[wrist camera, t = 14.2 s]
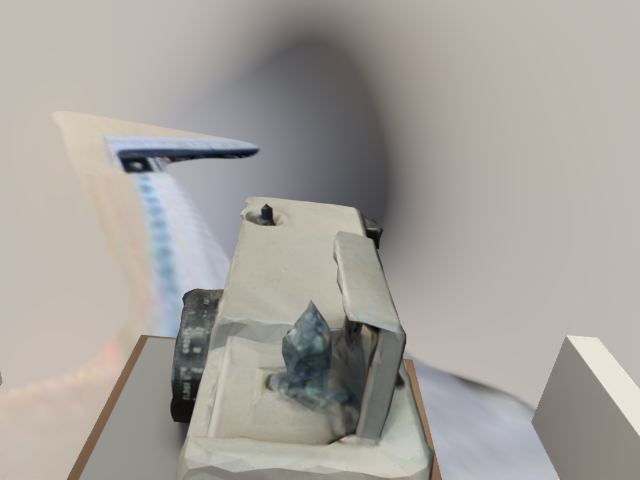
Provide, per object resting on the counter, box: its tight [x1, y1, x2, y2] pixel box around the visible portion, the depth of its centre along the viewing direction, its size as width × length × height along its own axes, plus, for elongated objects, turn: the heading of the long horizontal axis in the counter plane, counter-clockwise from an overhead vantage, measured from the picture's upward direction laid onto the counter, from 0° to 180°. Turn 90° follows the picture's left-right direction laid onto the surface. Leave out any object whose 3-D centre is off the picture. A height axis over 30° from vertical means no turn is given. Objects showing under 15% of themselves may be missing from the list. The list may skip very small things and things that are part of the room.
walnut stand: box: [67, 335, 442, 480], centre depth 19 cm, size 13×13×2 cm
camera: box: [170, 196, 435, 480], centre depth 17 cm, size 15×8×10 cm, turn 0°
